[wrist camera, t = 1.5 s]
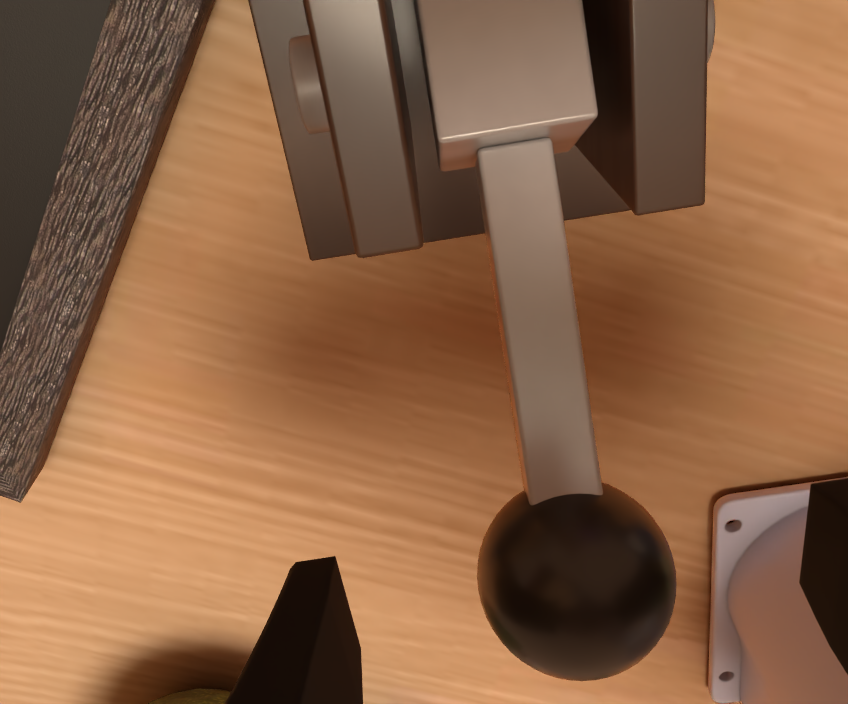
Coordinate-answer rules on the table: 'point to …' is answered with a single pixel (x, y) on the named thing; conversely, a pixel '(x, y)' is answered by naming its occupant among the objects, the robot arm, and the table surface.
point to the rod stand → (413, 132)
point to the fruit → (195, 697)
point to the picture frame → (73, 186)
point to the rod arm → (542, 342)
